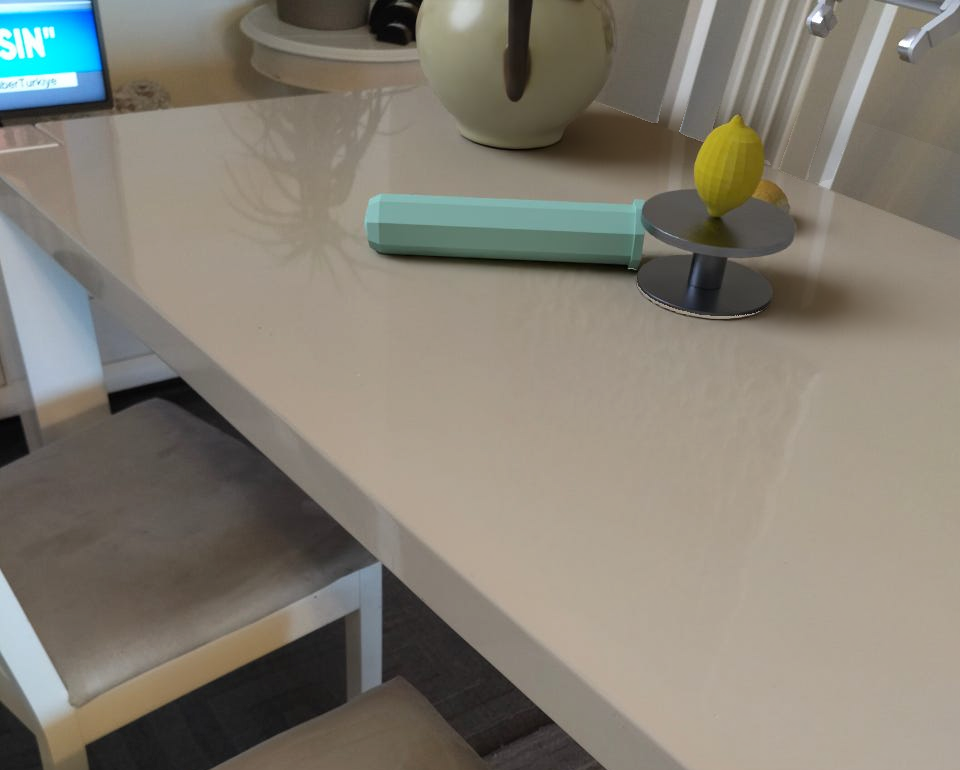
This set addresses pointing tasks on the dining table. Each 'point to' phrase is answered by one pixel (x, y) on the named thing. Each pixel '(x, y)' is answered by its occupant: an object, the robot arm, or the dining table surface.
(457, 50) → the pitcher
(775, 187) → the bread roll
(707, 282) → the stand
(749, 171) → the fruit
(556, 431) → the dining table surface
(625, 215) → the container
